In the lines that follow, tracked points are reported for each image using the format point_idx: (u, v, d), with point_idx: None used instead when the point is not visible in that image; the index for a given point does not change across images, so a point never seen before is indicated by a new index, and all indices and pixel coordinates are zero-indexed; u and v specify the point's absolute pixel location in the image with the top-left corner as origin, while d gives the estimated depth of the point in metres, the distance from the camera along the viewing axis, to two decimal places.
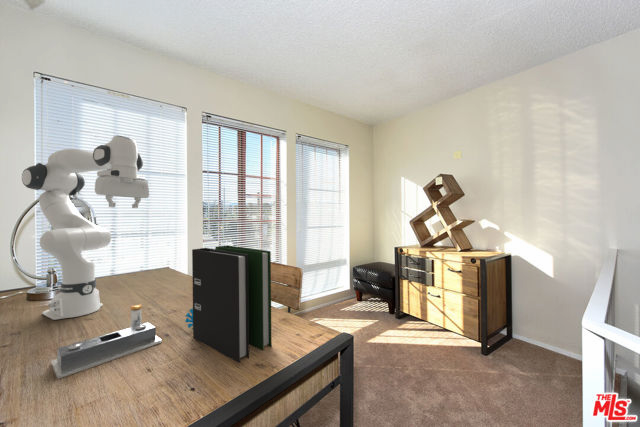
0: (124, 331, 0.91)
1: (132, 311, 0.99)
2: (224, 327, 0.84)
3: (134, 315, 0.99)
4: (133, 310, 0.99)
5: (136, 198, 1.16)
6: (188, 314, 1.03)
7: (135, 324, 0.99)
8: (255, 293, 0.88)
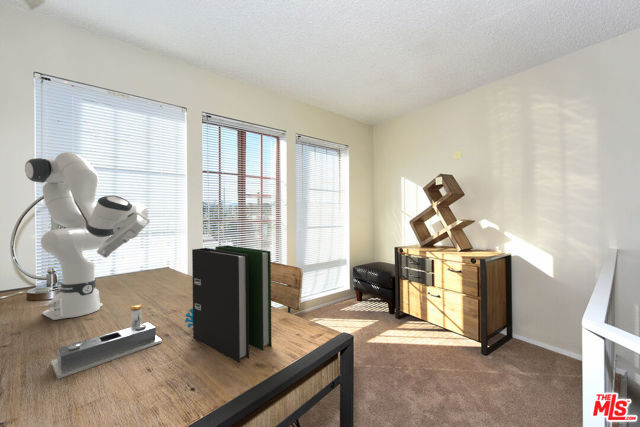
0: (124, 331, 0.91)
1: (132, 311, 0.99)
2: (224, 327, 0.84)
3: (134, 315, 0.99)
4: (133, 310, 0.99)
5: (109, 249, 1.00)
6: (188, 314, 1.03)
7: (135, 324, 0.99)
8: (255, 293, 0.88)
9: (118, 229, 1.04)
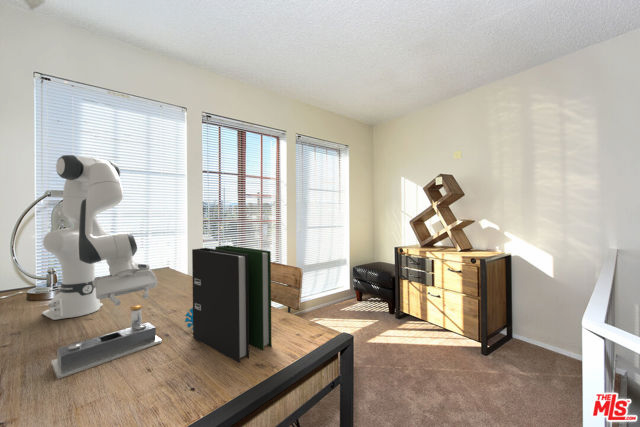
0: (124, 331, 0.91)
1: (132, 311, 0.99)
2: (224, 327, 0.84)
3: (134, 315, 0.99)
4: (133, 310, 0.99)
5: None
6: (188, 314, 1.03)
7: (135, 324, 0.99)
8: (255, 293, 0.88)
9: (125, 276, 1.07)
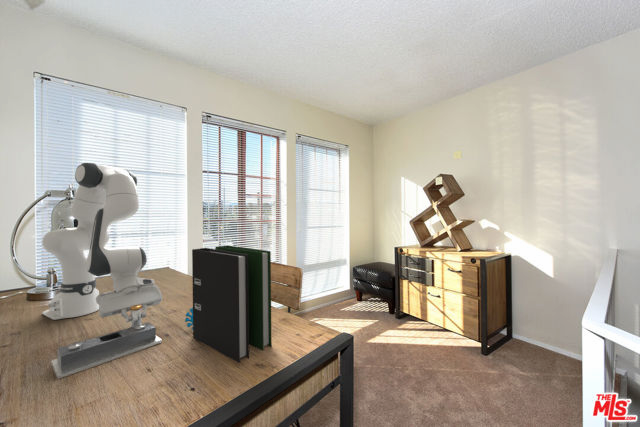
0: (124, 331, 0.91)
1: (132, 311, 0.99)
2: (224, 327, 0.84)
3: (134, 315, 0.99)
4: (133, 310, 0.99)
5: None
6: (188, 313, 1.03)
7: (135, 324, 0.99)
8: (255, 293, 0.88)
9: (129, 292, 1.04)
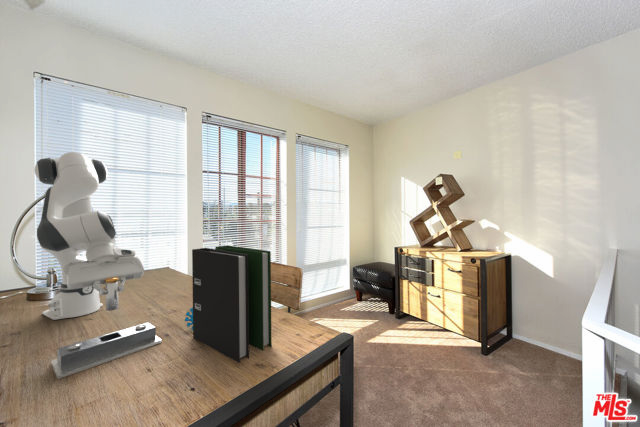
0: (124, 331, 0.91)
1: (107, 283, 0.85)
2: (224, 327, 0.84)
3: (109, 289, 0.85)
4: (108, 282, 0.85)
5: None
6: (188, 313, 1.04)
7: (110, 299, 0.85)
8: (255, 293, 0.88)
9: (105, 262, 0.90)
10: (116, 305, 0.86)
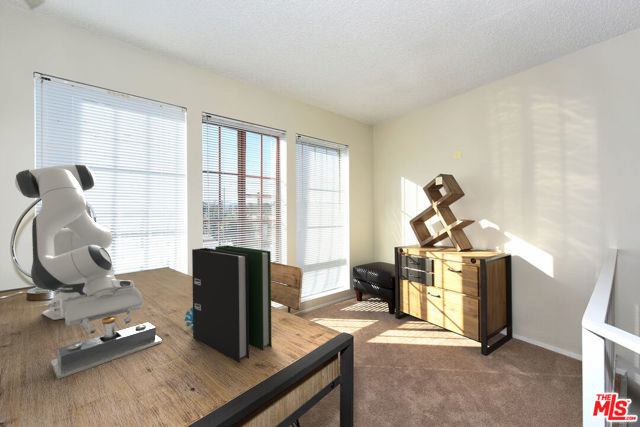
0: (124, 331, 0.91)
1: (104, 324, 0.85)
2: (224, 327, 0.84)
3: (106, 330, 0.85)
4: (105, 323, 0.85)
5: (87, 321, 0.84)
6: (188, 313, 1.04)
7: (108, 339, 0.85)
8: (255, 293, 0.88)
9: (103, 295, 0.89)
10: None
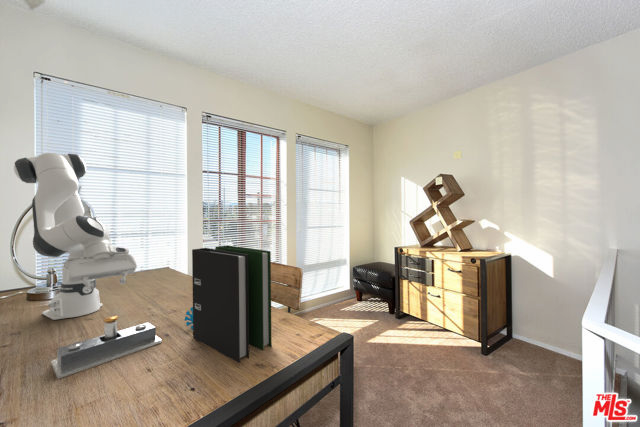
0: (124, 331, 0.91)
1: (105, 324, 0.85)
2: (224, 327, 0.84)
3: (108, 329, 0.85)
4: (106, 322, 0.85)
5: None
6: (188, 312, 1.04)
7: (109, 339, 0.85)
8: (255, 293, 0.88)
9: (101, 258, 1.00)
10: None
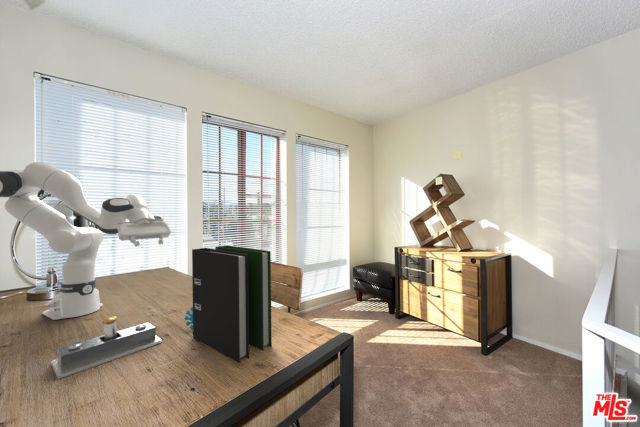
0: (124, 331, 0.91)
1: (104, 325, 0.85)
2: (224, 327, 0.84)
3: (107, 330, 0.85)
4: (105, 324, 0.84)
5: None
6: (188, 312, 1.05)
7: (108, 340, 0.85)
8: (255, 293, 0.88)
9: (143, 223, 1.22)
10: None
